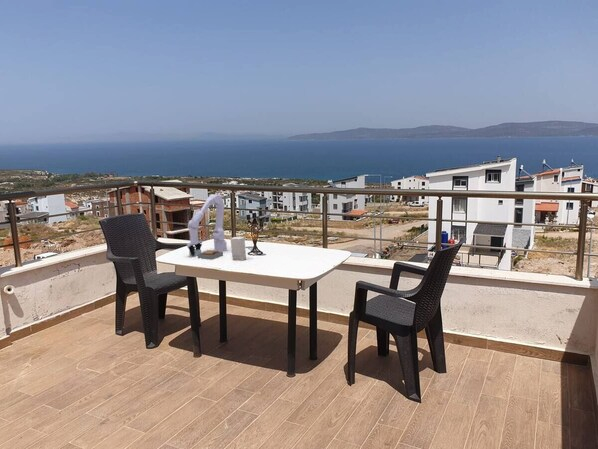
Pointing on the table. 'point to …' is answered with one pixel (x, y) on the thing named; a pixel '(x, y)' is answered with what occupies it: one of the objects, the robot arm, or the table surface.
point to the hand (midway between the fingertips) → (195, 254)
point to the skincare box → (238, 248)
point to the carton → (195, 252)
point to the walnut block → (210, 252)
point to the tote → (210, 256)
